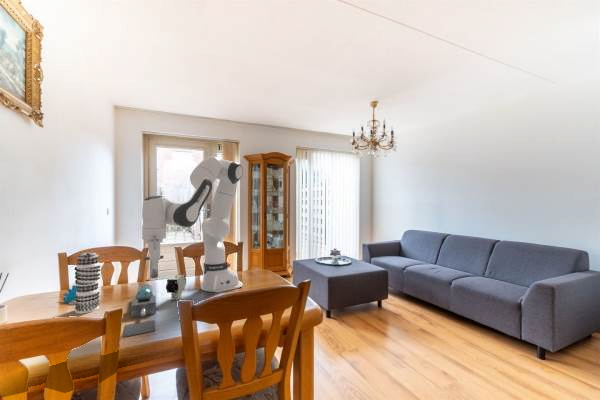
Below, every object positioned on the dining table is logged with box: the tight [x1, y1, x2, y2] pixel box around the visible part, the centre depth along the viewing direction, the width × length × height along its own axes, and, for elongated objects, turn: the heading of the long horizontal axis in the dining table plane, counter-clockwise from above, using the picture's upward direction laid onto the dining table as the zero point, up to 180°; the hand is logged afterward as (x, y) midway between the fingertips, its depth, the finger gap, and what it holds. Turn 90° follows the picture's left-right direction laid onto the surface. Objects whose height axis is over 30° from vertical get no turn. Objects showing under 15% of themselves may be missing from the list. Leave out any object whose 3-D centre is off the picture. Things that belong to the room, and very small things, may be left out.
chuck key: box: [143, 255, 164, 279], centre depth 114 cm, size 7×3×11 cm, turn 120°
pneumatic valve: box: [165, 274, 187, 301], centre depth 135 cm, size 6×12×12 cm, turn 178°
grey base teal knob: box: [130, 283, 157, 319], centre depth 123 cm, size 9×29×7 cm, turn 29°
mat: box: [122, 319, 156, 338], centre depth 104 cm, size 10×10×1 cm
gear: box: [61, 284, 77, 304], centre depth 132 cm, size 11×6×10 cm
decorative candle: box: [73, 251, 101, 314], centre depth 121 cm, size 9×9×25 cm
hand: (154, 267), depth 114 cm, fingers closed on chuck key, 3 cm apart
